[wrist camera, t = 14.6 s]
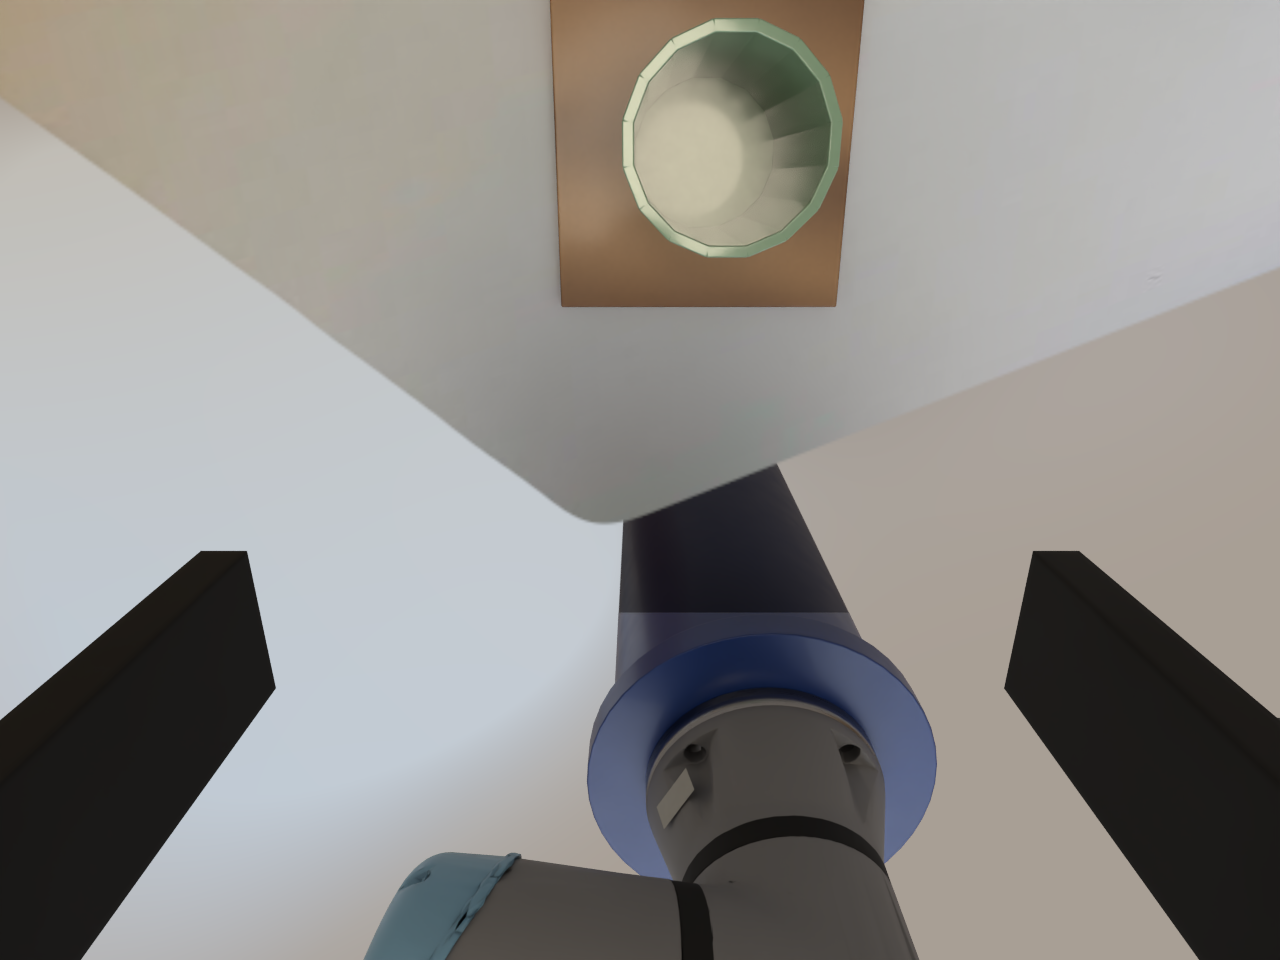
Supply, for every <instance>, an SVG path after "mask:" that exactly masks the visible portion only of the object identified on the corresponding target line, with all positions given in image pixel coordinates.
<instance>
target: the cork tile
mask: <svg viewBox="0 0 1280 960" xmlns="http://www.w3.org/2000/svg"><path fill="white" fill-rule="evenodd" d="M863 10H864V0H550V13H551V40H552V66H553V93H554V120H555V147H556V173H557V200H558V227H559V253H560V280H561V306H562V307H835V306H836V301H837V290H838V279H839V268H840V258H841V247H842V236H843V225H844V215H845V204H846V193H847V182H848V171H849V161H850V150H851V139H852V128H853V118H854V107H855V96H856V85H857V74H858V64H859V53H860V42H861V31H862V21H863ZM714 18H759V19H763V20H765V21H767V22H769V23H771V24H773V25H775V26H777V27H779V28H781V29H783V30H785V31H787V32H789V33H791V34H793V35H795V36H798V37H799V38H800V39H802V40H803V42H804V43H805V44H806V45H807V47H808V48H809V49H810V50H811V52H812V53H813V54H814V55H815V56H816V58H817V59H818V60H819V61H820V63H821V64H822V65H823V66H824V68H825V69H826V70H827V71H828V73H829V75H830V76H831V80H832V83H833V87H834V90H835V94H836V97H837V101H838V104H839V108H840V111H841V115H842V118H843V119H842V121H843V126H842V137H841V149H840V160H839V167H838V170H837V173H836V175H835V177H834V179H833V181H832V183H831V185H830V187H829V189H828V192H827V194H826V196H825V198H824V200H823V202H822V204H821V206H820V208H819V209H818V211H817V212H816V213H815V214H814V215H813V216H812V217H811V218H810V219H809V220H808V221H807V222H806V223H805V224H804V225H803V226H802V227H801V228H800V229H799V230H798V231H797V232H796V233H795V234H794V235H793V236H792V237H791V238H790V239H789V240H786V242H784V243H781V244H779V245H776V246H774V247H772V248H769V249H767V250H765V251H762V252H760V253H757V254H755V255H753V256H750V257H746V258H707V257H704V256H701V255H699V254H697V253H694V252H692V251H690V250H687V249H685V248H683V247H681V246H678V245H676V244H674V243H671V242H669V240H667V239H666V238H665V237H664V236H663V235H662V234H661V233H660V232H659V231H658V230H657V229H656V228H655V227H654V226H653V224H652V223H651V222H650V221H649V220H648V219H647V218H646V217H645V216H644V215H643V214H642V213H641V212H640V210H639V209H638V207H637V204H636V202H635V199H634V197H633V194H632V191H631V189H630V186H629V184H628V181H627V179H626V176H625V174H624V171H623V167H622V118H623V115H624V113H625V110H626V107H627V105H628V102H629V99H630V96H631V94H632V91H633V88H634V86H635V83H636V80H637V77H638V75H639V74H640V72H641V71H642V70H643V69H644V68H645V67H646V65H647V64H648V63H649V62H650V61H651V60H652V59H653V58H654V56H655V55H656V54H657V53H658V52H659V51H660V50H661V49H662V47H663V46H664V45H665V44H666V43H667V42H668V41H669V40H670V39H671V38H672V37H674V36H676V35H678V34H680V33H683V32H685V31H687V30H689V29H691V28H693V27H695V26H697V25H700V24H702V23H704V22H706V21H708V20H710V19H714Z"/></svg>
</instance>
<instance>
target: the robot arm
mask: <svg viewBox="0 0 1280 960" xmlns="http://www.w3.org/2000/svg"><path fill="white" fill-rule="evenodd" d="M275 688H276V687H275V682H274V677H273V673H272V668H271V663H270V658H269V654H268V649H267V644H266V640H265V635H264V630H263V625H262V621H261V616H260V611H259V606H258V602H257V597H256V592H255V587H254V583H253V578H252V573H251V568H250V564H249V559H248V554H247V551H200V552H199V553H198V554H197V555H196V556H195V557H193V558H192V559H191V560H190V561H189V562H187V563H186V564H185V565H184V566H183V567H181V568H180V569H179V570H178V571H177V572H176V573H174V574H173V575H172V576H171V577H170V578H168V579H167V580H166V581H165V582H164V583H162V584H161V585H160V586H159V587H158V588H157V589H155V590H154V591H153V592H152V593H151V594H149V595H148V596H147V597H146V598H145V599H144V600H142V601H141V602H140V603H139V604H138V605H136V606H135V607H134V608H133V609H132V610H131V611H129V612H128V613H127V614H126V615H125V616H123V617H122V618H121V619H120V620H119V621H117V622H116V623H115V624H114V625H113V626H111V627H110V628H109V629H108V630H107V631H106V632H104V633H103V634H102V635H101V636H100V637H98V638H97V639H96V640H95V641H94V642H92V643H91V644H90V645H89V646H88V647H87V648H85V649H84V650H83V651H82V652H81V653H79V654H78V655H77V656H76V657H75V658H74V659H72V660H71V661H70V662H69V663H68V664H66V665H65V666H64V667H63V668H62V669H60V670H59V671H58V672H57V673H56V674H55V675H53V676H52V677H51V678H50V679H49V680H47V681H46V682H45V683H44V684H43V685H41V686H40V687H39V688H38V689H37V690H36V691H34V692H33V693H32V694H31V695H30V696H28V697H27V698H26V699H25V700H24V701H22V702H21V703H20V704H19V705H18V706H17V707H15V708H14V709H13V710H12V711H11V712H9V713H8V714H7V715H6V716H5V717H4V718H2V719H1V720H0V960H81V959H82V957H83V956H84V955H85V953H86V952H87V950H88V949H89V948H90V946H91V945H92V943H93V942H94V941H95V939H96V938H97V936H98V935H99V934H100V932H101V931H102V930H103V928H104V927H105V925H106V924H107V923H108V921H109V920H110V918H111V917H112V916H113V914H114V913H115V911H116V910H117V909H118V907H119V906H120V904H121V903H122V902H123V900H124V899H125V897H126V896H127V895H128V893H129V892H130V891H131V889H132V888H133V886H134V885H135V884H136V882H137V881H138V879H139V878H140V877H141V875H142V874H143V872H144V871H145V870H146V868H147V867H148V865H149V864H150V863H151V861H152V860H153V859H154V857H155V856H156V854H157V853H158V852H159V850H160V849H161V847H162V846H163V845H164V843H165V842H166V840H167V839H168V838H169V836H170V835H171V833H172V832H173V831H174V829H175V828H176V826H177V825H178V824H179V822H180V821H181V819H182V818H183V817H184V815H185V814H186V813H187V811H188V810H189V808H190V807H191V806H192V804H193V803H194V801H195V800H196V799H197V797H198V796H199V794H200V793H201V792H202V790H203V789H204V787H205V786H206V785H207V783H208V782H209V781H210V779H211V778H212V776H213V775H214V774H215V772H216V771H217V769H218V768H219V767H220V765H221V764H222V762H223V761H224V760H225V758H226V757H227V755H228V754H229V753H230V751H231V750H232V749H233V747H234V746H235V744H236V743H237V742H238V740H239V739H240V737H241V736H242V735H243V733H244V732H245V730H246V729H247V728H248V726H249V725H250V723H251V722H252V721H253V719H254V718H255V716H256V715H257V714H258V712H259V711H260V710H261V708H262V707H263V705H264V704H265V703H266V701H267V700H268V698H269V697H270V696H271V694H272V693H273V691H274V690H275ZM1004 689H1005V690H1006V691H1007V693H1008V694H1009V696H1010V697H1011V698H1012V700H1013V701H1014V703H1015V704H1016V705H1017V707H1018V708H1019V710H1020V711H1021V712H1022V714H1023V715H1024V716H1025V718H1026V719H1027V721H1028V722H1029V723H1030V725H1031V726H1032V728H1033V729H1034V730H1035V732H1036V733H1037V735H1038V736H1039V737H1040V739H1041V740H1042V742H1043V743H1044V744H1045V746H1046V747H1047V748H1048V750H1049V751H1050V753H1051V754H1052V755H1053V757H1054V758H1055V760H1056V761H1057V762H1058V764H1059V765H1060V767H1061V768H1062V769H1063V771H1064V772H1065V774H1066V775H1067V776H1068V778H1069V779H1070V780H1071V782H1072V783H1073V785H1074V786H1075V787H1076V789H1077V790H1078V792H1079V793H1080V794H1081V796H1082V797H1083V799H1084V800H1085V801H1086V803H1087V804H1088V806H1089V807H1090V808H1091V810H1092V811H1093V812H1094V814H1095V815H1096V817H1097V818H1098V819H1099V821H1100V822H1101V824H1102V825H1103V826H1104V828H1105V829H1106V831H1107V832H1108V833H1109V835H1110V836H1111V838H1112V839H1113V840H1114V842H1115V843H1116V845H1117V846H1118V847H1119V849H1120V850H1121V852H1122V853H1123V854H1124V856H1125V857H1126V859H1127V860H1128V861H1129V863H1130V864H1131V865H1132V867H1133V868H1134V870H1135V871H1136V872H1137V874H1138V875H1139V877H1140V878H1141V879H1142V881H1143V882H1144V883H1145V885H1146V886H1147V888H1148V889H1149V890H1150V892H1151V893H1152V895H1153V896H1154V897H1155V899H1156V900H1157V902H1158V903H1159V904H1160V906H1161V907H1162V909H1163V910H1164V911H1165V913H1166V914H1167V916H1168V917H1169V918H1170V920H1171V921H1172V923H1173V924H1174V925H1175V927H1176V928H1177V929H1178V931H1179V932H1180V934H1181V935H1182V937H1183V938H1184V939H1185V941H1186V942H1187V943H1188V945H1189V946H1190V948H1191V949H1192V950H1193V952H1194V953H1195V955H1196V956H1197V957H1198V959H1199V960H1280V718H1276V717H1275V716H1274V715H1273V714H1272V713H1271V712H1269V711H1268V710H1267V709H1266V708H1265V707H1263V706H1262V705H1261V704H1260V703H1259V702H1258V701H1256V700H1255V699H1254V698H1253V697H1252V696H1250V695H1249V694H1248V693H1247V692H1246V691H1244V690H1243V689H1242V688H1241V687H1240V686H1238V685H1237V684H1236V683H1235V682H1234V681H1233V680H1231V679H1230V678H1229V677H1228V676H1227V675H1225V674H1224V673H1223V672H1222V671H1221V670H1220V669H1218V668H1217V667H1216V666H1215V665H1214V664H1212V663H1211V662H1210V661H1209V660H1208V659H1206V658H1205V657H1204V656H1203V655H1202V654H1201V653H1199V652H1198V651H1197V650H1196V649H1195V648H1193V647H1192V646H1191V645H1190V644H1189V643H1188V642H1186V641H1185V640H1184V639H1183V638H1182V637H1180V636H1179V635H1178V634H1177V633H1176V632H1174V631H1173V630H1172V629H1171V628H1170V627H1169V626H1167V625H1166V624H1165V623H1164V622H1163V621H1161V620H1160V619H1159V618H1158V617H1157V616H1155V615H1154V614H1153V613H1152V612H1151V611H1150V610H1148V609H1147V608H1146V607H1145V606H1144V605H1142V604H1141V603H1140V602H1139V601H1138V600H1136V599H1135V598H1134V597H1133V596H1132V595H1131V594H1129V593H1128V592H1127V591H1126V590H1124V589H1123V588H1122V587H1121V586H1120V585H1119V584H1118V583H1116V582H1115V581H1114V580H1113V579H1112V578H1110V577H1109V576H1108V575H1107V574H1106V573H1104V572H1103V571H1102V570H1101V569H1100V568H1099V567H1097V566H1096V565H1095V564H1094V563H1093V562H1091V561H1090V560H1089V559H1088V558H1087V557H1085V556H1084V555H1083V554H1082V553H1081V552H1080V551H1033V554H1032V559H1031V564H1030V568H1029V573H1028V578H1027V583H1026V587H1025V592H1024V597H1023V602H1022V606H1021V611H1020V616H1019V620H1018V625H1017V630H1016V635H1015V640H1014V644H1013V649H1012V654H1011V659H1010V663H1009V668H1008V673H1007V677H1006V683H1005V687H1004ZM646 811H647V817H648V821H649V824H650V827H651V830H652V833H653V836H654V838H655V840H656V843H657V845H658V847H659V850H660V852H661V854H662V856H663V859H664V861H665V863H666V866H667V868H668V870H669V872H670V875H671V877H672V879H673V880H670V879H665V878H656V877H648V876H640V875H631V874H623V873H616V872H609V871H602V870H595V869H588V868H582V867H575V866H568V865H561V864H553V863H547V862H540V861H533V860H526V859H521V854H517V853H510V854H508V855H506V856H493V855H480V854H466V853H454V852H448V853H441V854H437V855H435V856H432V857H430V858H428V859H426V860H425V861H424V862H422V863H421V864H420V865H418V866H417V867H416V868H415V869H414V870H413V871H412V872H411V873H410V874H409V876H408V877H407V878H406V879H405V881H404V882H403V884H402V885H401V887H400V888H399V890H398V892H397V893H396V895H395V897H394V898H393V900H392V902H391V903H390V905H389V907H388V909H387V911H386V913H385V915H384V917H383V919H382V921H381V923H380V925H379V927H378V929H377V931H376V933H375V935H374V938H373V940H372V942H371V944H370V946H369V949H368V951H367V953H366V956H365V958H364V960H919V958H918V955H917V953H916V950H915V947H914V944H913V942H912V939H911V936H910V934H909V931H908V928H907V925H906V923H905V920H904V917H903V914H902V912H901V909H900V906H899V904H898V901H897V898H896V895H895V893H894V890H893V887H892V885H891V882H890V879H889V877H888V874H887V871H886V868H885V865H884V839H885V783H884V777H883V773H882V769H881V766H880V764H879V761H878V759H877V756H876V754H875V751H874V749H873V747H872V744H871V742H870V740H869V738H868V737H867V735H866V733H865V732H864V730H863V729H862V728H861V727H860V725H859V724H858V723H857V722H856V721H855V720H854V719H853V718H852V717H851V716H850V715H849V714H847V713H846V712H845V711H844V710H842V709H841V708H839V707H838V706H836V705H834V704H833V703H831V702H829V701H827V700H825V699H822V698H820V697H817V696H815V695H812V694H809V693H805V692H801V691H797V690H792V689H784V688H753V689H745V690H740V691H735V692H731V693H728V694H724V695H721V696H718V697H716V698H713V699H710V700H708V701H706V702H704V703H702V704H700V705H698V706H697V707H695V708H693V709H692V710H690V711H689V712H687V713H686V714H685V715H683V716H682V717H681V718H679V719H678V720H677V721H676V722H675V723H674V724H673V725H672V726H671V727H670V728H669V729H668V730H667V731H666V732H665V734H664V735H663V736H662V738H661V739H660V740H659V742H658V744H657V745H656V747H655V749H654V751H653V753H652V756H651V758H650V761H649V764H648V769H647V774H646Z"/></svg>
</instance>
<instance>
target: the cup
mask: <svg viewBox="0 0 1280 960" xmlns="http://www.w3.org/2000/svg"><path fill="white" fill-rule="evenodd" d="M842 119H843V118H842V115H841V111H840V108H839V104H838V101H837V97H836V94H835V90H834V87H833V83H832V80H831V76H830V75H829V73H828V71H827V70H826V69H825V68H824V66H823V65H822V64H821V63H820V61H819V60H818V59H817V58H816V56H815V55H814V54H813V53H812V52H811V50H810V49H809V48H808V47H807V45H806V44H805V43H804V42H803V40H802V39H800V38H799V37H798V36H795V35H793V34H791V33H789V32H787V31H785V30H783V29H781V28H779V27H777V26H775V25H773V24H771V23H769V22H767V21H765V20H763V19H759V18H714V19H710V20H708V21H706V22H704V23H702V24H700V25H697V26H695V27H693V28H691V29H689V30H687V31H685V32H683V33H680V34H678V35H676V36H674V37H672V38H671V39H670V40H669V41H668V42H667V43H666V44H665V45H664V46H663V47H662V49H661V50H660V51H659V52H658V53H657V54H656V55H655V56H654V58H653V59H652V60H651V61H650V62H649V63H648V64H647V65H646V67H645V68H644V69H643V70H642V71H641V72H640V74H639V75H638V77H637V80H636V83H635V86H634V88H633V91H632V94H631V96H630V99H629V102H628V105H627V107H626V110H625V113H624V115H623V118H622V167H623V171H624V174H625V176H626V179H627V181H628V184H629V186H630V189H631V191H632V194H633V197H634V199H635V202H636V204H637V207H638V209H639V210H640V212H641V213H642V214H643V215H644V216H645V217H646V218H647V219H648V220H649V221H650V222H651V223H652V224H653V226H654V227H655V228H656V229H657V230H658V231H659V232H660V233H661V234H662V235H663V236H664V237H665V238H666V239H667V240H669V242H671V243H674V244H676V245H678V246H681V247H683V248H685V249H687V250H690V251H692V252H694V253H697V254H699V255H701V256H704V257H707V258H746V257H750V256H753V255H755V254H757V253H760V252H762V251H765V250H767V249H769V248H772V247H774V246H776V245H779V244H781V243H784V242H786V240H789V239H790V238H791V237H792V236H793V235H794V234H795V233H796V232H797V231H798V230H799V229H800V228H801V227H802V226H803V225H804V224H805V223H806V222H807V221H808V220H809V219H810V218H811V217H812V216H813V215H814V214H815V213H816V212H817V211H818V209H819V208H820V206H821V204H822V202H823V200H824V198H825V196H826V194H827V192H828V189H829V187H830V185H831V183H832V181H833V179H834V177H835V175H836V173H837V170H838V167H839V160H840V149H841V137H842V126H843V121H842Z"/></svg>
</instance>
